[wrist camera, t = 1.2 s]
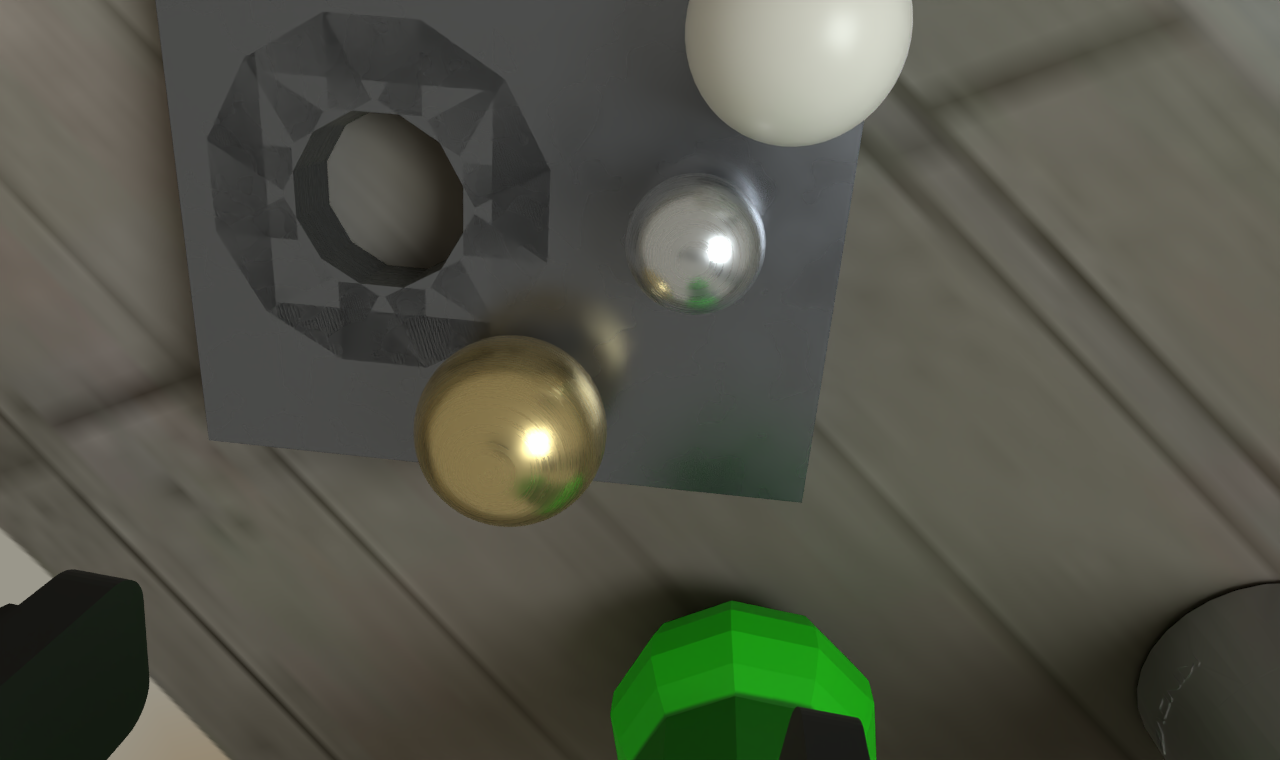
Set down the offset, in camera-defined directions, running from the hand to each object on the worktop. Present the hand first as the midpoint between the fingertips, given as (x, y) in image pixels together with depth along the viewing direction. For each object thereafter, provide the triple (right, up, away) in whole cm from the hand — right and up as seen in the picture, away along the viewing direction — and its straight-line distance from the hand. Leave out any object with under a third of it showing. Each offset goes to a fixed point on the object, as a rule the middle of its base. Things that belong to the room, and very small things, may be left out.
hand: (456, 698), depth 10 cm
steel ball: (+4, +8, +14) cm, 17 cm away
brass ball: (-2, +2, +16) cm, 16 cm away
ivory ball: (+6, +13, +11) cm, 18 cm away
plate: (-2, +10, +19) cm, 21 cm away
